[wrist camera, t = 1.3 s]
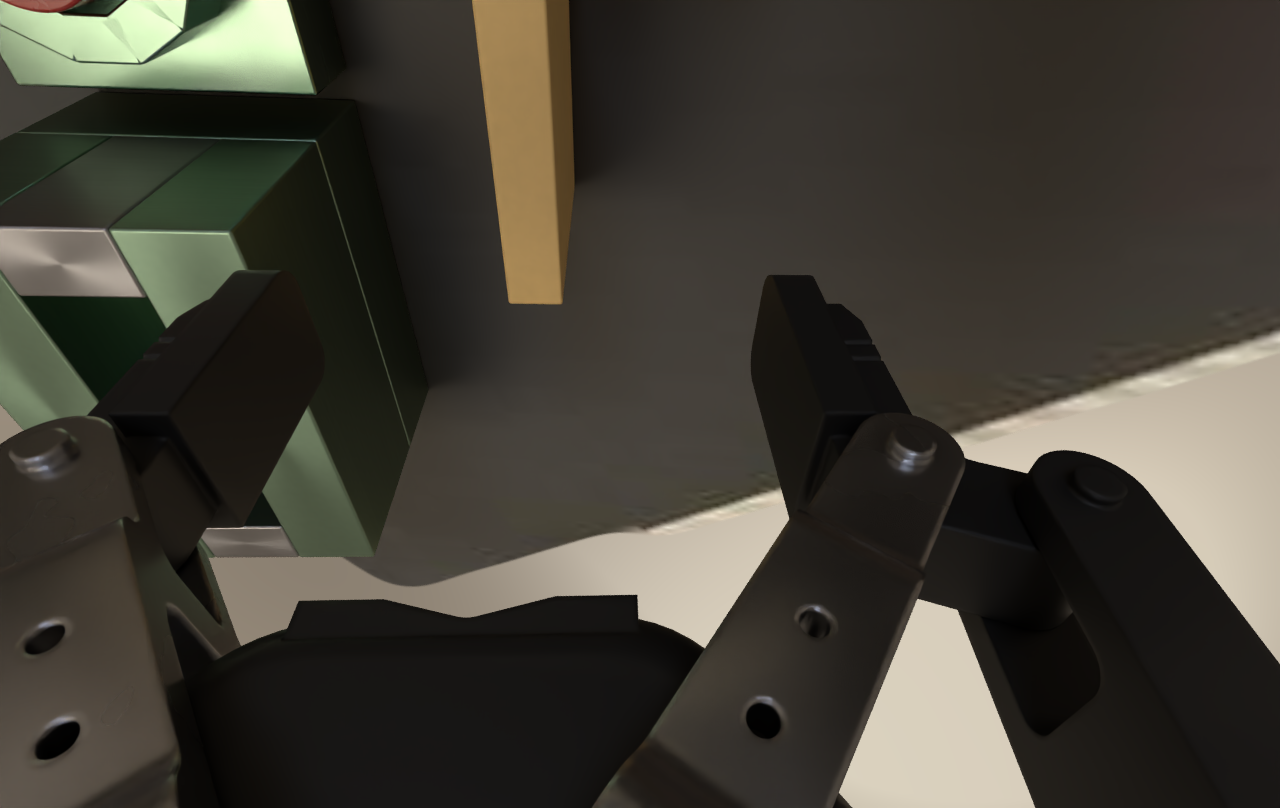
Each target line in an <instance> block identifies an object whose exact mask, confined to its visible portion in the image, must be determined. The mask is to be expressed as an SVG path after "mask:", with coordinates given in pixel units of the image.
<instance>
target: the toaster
mask: <svg viewBox="0 0 1280 808" xmlns="http://www.w3.org/2000/svg"><path fill="white" fill-rule="evenodd" d="M237 270H285V271H288V272H290V273H291V274H292V275H293V276H294V277H295V279H296V280H297V282H298V284H299V287H300V289H301V292H302V295H303V297H304V300H305V302H306V305H307V307H308V310H309V313H310V315H311V318H312V320H313V323H314V326H315V328H316V331H317V333H318V336H319V338H320V341H321V344H322V347H323V351H324V357H325V368H324V375H323V378H322V381H321V383H320V385H319V387H318V389H317V390H316V392H315V394H314V396H313V398H312V400H311V401H310V403H309V405H308V407H307V409H306V411H305V413H304V414H303V416H302V418H301V420H300V422H299V424H298V426H297V427H296V429H295V431H294V433H293V435H292V437H291V439H290V440H289V442H288V444H287V446H286V448H285V450H284V452H283V453H282V455H281V457H280V459H279V461H278V463H277V465H276V466H275V468H274V470H273V472H272V474H271V476H270V478H269V479H268V481H267V483H266V485H265V487H264V489H263V491H262V492H261V494H260V496H259V498H258V500H257V502H256V504H255V505H254V507H253V509H252V511H251V513H250V515H249V516H248V518H247V520H246V522H245V524H244V526H243V528H206V530H205V532H204V533H203V535H202V537H201V538H200V540H199V543H200V545H201V546H202V547H203V549H204V550H205V552H206V554H207V556H208V558H213V557H298V556H301V557H372V556H374V555H375V552H376V549H377V546H378V543H379V539H380V536H381V533H382V530H383V527H384V524H385V521H386V518H387V515H388V512H389V509H390V506H391V503H392V500H393V497H394V494H395V490H396V487H397V484H398V481H399V478H400V475H401V472H402V469H403V466H404V463H405V460H406V457H407V454H408V451H409V448H410V444H411V441H412V438H413V435H414V432H415V429H416V426H417V423H418V420H419V417H420V414H421V411H422V408H423V405H424V402H425V399H426V396H427V392H428V387H427V383H426V379H425V375H424V371H423V367H422V363H421V359H420V355H419V351H418V348H417V344H416V340H415V336H414V332H413V328H412V324H411V320H410V316H409V312H408V308H407V304H406V301H405V297H404V293H403V289H402V285H401V281H400V277H399V273H398V269H397V265H396V261H395V257H394V254H393V250H392V246H391V242H390V238H389V234H388V230H387V226H386V222H385V218H384V214H383V210H382V207H381V203H380V199H379V195H378V191H377V187H376V183H375V179H374V175H373V171H372V167H371V163H370V160H369V156H368V152H367V148H366V144H365V140H364V136H363V132H362V128H361V124H360V120H359V116H358V113H357V109H356V105H355V102H354V101H352V100H323V99H292V98H261V97H229V96H198V95H167V94H135V93H104V92H95V93H93V94H91V95H89V96H87V97H86V98H84V99H82V100H80V101H78V102H76V103H74V104H72V105H70V106H68V107H66V108H64V109H62V110H60V111H58V112H56V113H54V114H52V115H50V116H48V117H46V118H44V119H42V120H40V121H38V122H36V123H34V124H32V125H31V126H29V127H27V128H25V129H23V130H21V131H19V132H18V133H14V134H12V135H10V136H8V137H6V138H4V139H2V140H1V141H0V405H1V406H2V407H3V408H4V409H5V410H6V411H7V412H8V414H9V415H10V416H11V417H12V418H13V419H14V420H15V421H16V422H17V424H18V425H19V426H20V427H21V428H22V429H23V430H26V429H28V428H30V427H33V426H36V425H38V424H41V423H44V422H47V421H51V420H54V419H59V418H64V417H71V416H87V415H88V414H89V412H90V411H91V410H92V409H93V408H94V407H95V406H96V405H97V404H98V403H99V402H100V401H101V399H102V398H103V397H104V396H105V395H106V394H107V393H108V392H109V391H110V390H111V389H112V387H113V386H114V385H115V384H116V383H117V382H118V381H119V380H120V379H121V378H122V377H123V376H124V374H125V373H126V372H127V371H128V370H129V369H130V368H131V367H132V366H133V365H134V364H135V363H136V361H137V360H138V359H143V354H144V353H145V352H146V351H147V349H148V348H149V347H150V346H151V345H152V344H153V343H154V342H159V339H158V338H159V336H160V335H161V334H162V333H163V332H164V331H165V330H166V329H167V328H168V327H169V326H170V324H171V323H172V322H173V321H174V320H175V319H176V318H177V317H178V316H180V315H182V314H183V313H185V312H187V311H188V310H190V309H192V308H193V307H195V306H197V305H198V304H200V303H202V302H203V301H205V300H209V299H210V298H211V297H212V296H213V295H214V294H215V292H216V291H217V290H218V289H219V288H220V287H221V286H222V285H223V283H224V282H225V281H226V280H227V279H228V278H229V277H230V275H231V274H232V273H234V272H235V271H237Z"/></svg>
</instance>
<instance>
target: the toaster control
mask: <svg viewBox="0 0 1280 808" xmlns="http://www.w3.org/2000/svg"><path fill="white" fill-rule="evenodd" d="M0 56H1V58H2V60H3V61H4V63H5V65H6V66H7V68H8V70H9V71H10V73H11V75H12V77H13V78H14V80H15V82H16V83H17V84H18V85H21V86H47V87H78V88H109V89H140V90H171V91H202V92H233V93H263V94H294V95H317V94H318V93H320V92H321V91H322V90H323V89H324V88H325V87H326V86H327V85H328V84H330V83H331V82H332V81H333V80H334V79H335V78H336V77H337V76H338V75H340V74H341V73H342V72H343V71H344V70H345V69H346V65H345V61H344V58H343V54H342V50H341V46H340V42H339V38H338V34H337V30H336V26H335V22H334V18H333V14H332V11H331V7H330V3H329V0H96V1H93V2H90V3H87V4H84V5H81V6H78V7H75V8H72V9H69V10H66V11H62V12H57V13H40V12H33V11H29V10H25V9H21V8H18V7H15V6H13V5H10V4H8V3H5V2H3V1H1V0H0Z"/></svg>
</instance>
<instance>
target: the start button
mask: <svg viewBox="0 0 1280 808" xmlns="http://www.w3.org/2000/svg"><path fill="white" fill-rule="evenodd" d="M1 1H3V2H5V3H8V4H10V5H13V6H15V7H18V8H21V9H25V10H29V11H33V12H40V13H57V12H62V11H66V10H69V9H72V8H75V7H78V6H81V5H84V4H87V3H90V2H93V1H96V0H1Z"/></svg>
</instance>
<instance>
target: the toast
mask: <svg viewBox="0 0 1280 808" xmlns="http://www.w3.org/2000/svg"><path fill="white" fill-rule="evenodd" d="M472 4H473V12H474V20H475V29H476V37H477V45H478V53H479V62H480V70H481V78H482V86H483V94H484V103H485V111H486V119H487V127H488V135H489V144H490V152H491V160H492V168H493V176H494V185H495V193H496V201H497V209H498V217H499V226H500V234H501V242H502V250H503V258H504V267H505V275H506V283H507V291H508V299H509V302H510V303H511V304H562V302H563V292H564V283H565V273H566V263H567V254H568V244H569V234H570V225H571V215H572V205H573V196H574V186H575V181H574V150H573V118H572V87H571V55H570V24H569V0H472Z"/></svg>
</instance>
